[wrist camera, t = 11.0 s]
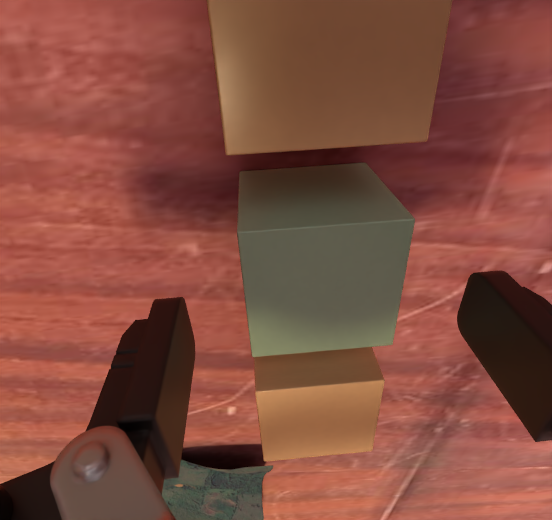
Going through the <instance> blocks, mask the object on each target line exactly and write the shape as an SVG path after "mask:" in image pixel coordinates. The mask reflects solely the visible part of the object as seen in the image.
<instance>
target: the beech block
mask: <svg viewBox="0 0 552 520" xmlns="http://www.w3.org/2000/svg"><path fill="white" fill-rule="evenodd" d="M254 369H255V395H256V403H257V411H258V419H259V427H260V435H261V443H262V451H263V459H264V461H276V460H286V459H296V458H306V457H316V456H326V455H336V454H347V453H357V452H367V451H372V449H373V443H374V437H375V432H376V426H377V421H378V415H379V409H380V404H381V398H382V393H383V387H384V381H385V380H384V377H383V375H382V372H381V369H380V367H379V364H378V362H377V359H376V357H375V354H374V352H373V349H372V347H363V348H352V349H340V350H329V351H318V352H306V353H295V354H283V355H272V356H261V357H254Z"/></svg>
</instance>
